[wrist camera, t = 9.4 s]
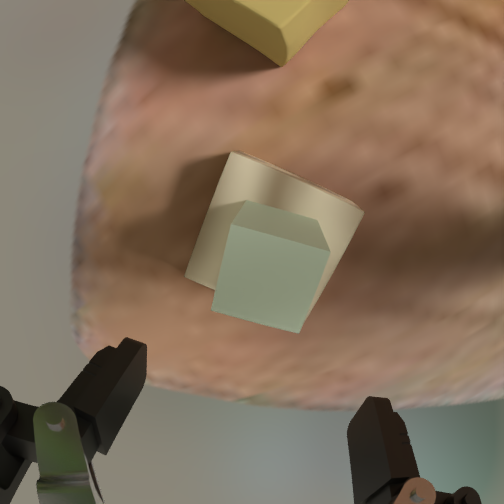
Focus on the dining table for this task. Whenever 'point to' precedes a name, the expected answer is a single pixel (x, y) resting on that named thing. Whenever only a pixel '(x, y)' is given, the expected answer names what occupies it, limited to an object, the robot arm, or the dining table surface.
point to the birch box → (274, 195)
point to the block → (271, 267)
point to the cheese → (270, 22)
